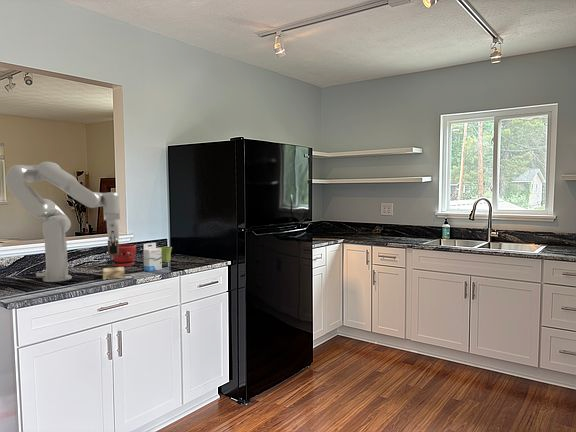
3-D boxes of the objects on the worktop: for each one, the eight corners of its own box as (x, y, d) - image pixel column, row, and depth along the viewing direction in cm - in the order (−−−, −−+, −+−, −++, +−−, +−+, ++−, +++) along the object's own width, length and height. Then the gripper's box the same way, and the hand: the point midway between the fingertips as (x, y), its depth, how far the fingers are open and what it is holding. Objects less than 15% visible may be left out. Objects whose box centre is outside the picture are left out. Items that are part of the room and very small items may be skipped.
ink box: (149, 272, 235) (148, 244, 234) (143, 271, 237) (142, 244, 236) (162, 269, 242) (161, 242, 240) (156, 268, 244) (155, 242, 243)
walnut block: (108, 255, 218) (107, 241, 217) (108, 254, 222) (107, 240, 222) (119, 254, 220) (118, 241, 219) (118, 253, 224) (118, 239, 224)
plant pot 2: (153, 262, 265) (152, 247, 264) (165, 259, 272) (165, 246, 272) (163, 263, 259) (163, 249, 259) (175, 261, 267) (175, 247, 267)
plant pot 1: (131, 267, 247) (130, 246, 246) (108, 267, 247) (107, 246, 246) (139, 263, 260) (139, 243, 259) (117, 263, 260) (117, 243, 259)
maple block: (103, 279, 215) (102, 271, 215) (103, 276, 225) (103, 268, 224) (124, 278, 219) (124, 270, 219) (124, 274, 228) (123, 266, 228)
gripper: (120, 217, 213) (121, 254, 214) (119, 215, 229) (121, 250, 230) (103, 218, 210) (105, 255, 212) (104, 216, 226) (105, 251, 227)
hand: (113, 252), depth 221 cm, fingers closed on walnut block, 5 cm apart
